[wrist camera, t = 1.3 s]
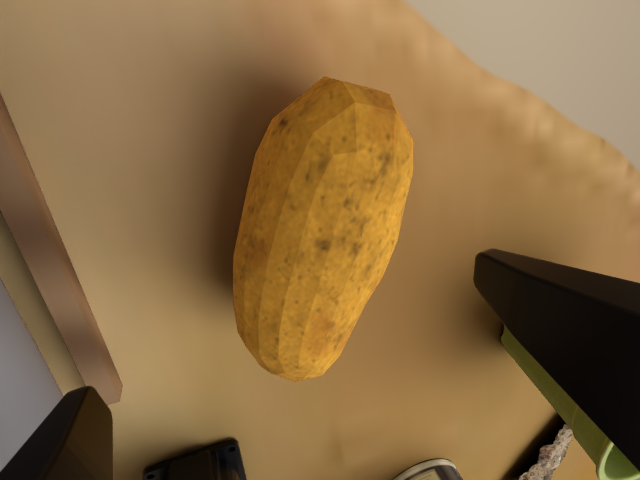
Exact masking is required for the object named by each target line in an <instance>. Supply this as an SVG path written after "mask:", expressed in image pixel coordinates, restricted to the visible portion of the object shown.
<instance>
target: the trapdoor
mask: <svg viewBox="0 0 640 480" xmlns="http://www.w3.org/2000/svg"><path fill="white" fill-rule="evenodd" d="M63 397H64V396H63V394H62V392H61V390H60V388H59V386H58V384H57V383H56V381H55V379H54V377H53V375H52V373H51V371H50V369H49V368H48V366H47V364H46V362H45V360H44V358H43V356H42V355H41V353H40V351H39V349H38V347H37V345H36V343H35V341H34V340H33V338H32V336H31V334H30V332H29V330H28V328H27V327H26V325H25V323H24V321H23V319H22V317H21V315H20V313H19V312H18V310H17V308H16V306H15V304H14V302H13V300H12V299H11V297H10V295H9V293H8V291H7V289H6V287H5V285H4V284H3V282H2V280H1V278H0V471H1V470H2V469H3V468H4V467H5V465H6V464H7V463H8V462H9V461H10V460H11V458H12V457H13V456H14V455H15V454H16V452H17V451H18V450H19V449H20V448H21V446H22V445H23V444H24V443H25V442H26V441H27V439H28V438H29V437H30V436H31V435H32V433H33V432H34V431H35V430H36V429H37V427H38V426H39V425H40V424H41V423H42V422H43V420H44V419H45V418H46V417H47V416H48V414H49V413H50V412H51V411H52V410H53V408H54V407H55V406H56V405H57V404H58V403H59V401H60V400H61V399H62V398H63Z"/></svg>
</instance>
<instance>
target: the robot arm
mask: <svg viewBox="0 0 640 480" xmlns="http://www.w3.org/2000/svg"><path fill="white" fill-rule="evenodd" d="M473 280H474V284H475V287H476V288H477V290H478V291H479V293H480V294H481V295H482V297H483V298H484V299H485V300H486V302H487V303H488V304H489V306H490V307H491V308H492V310H493V311H494V312H495V314H496V315H497V316H498V317H499V319H500V320H501V321H502V323H503V324H504V325H505V327H506V328H507V329H508V330H509V332H510V333H511V334H512V335H513V336H514V338H515V339H516V340H517V341H518V342H519V343H520V344H521V345H522V346H523V348H524V349H525V350H526V351H527V352H528V353H529V354H530V355H531V356H532V357H533V358H534V359H535V360H536V361H537V363H538V364H539V365H540V366H541V367H542V368H543V369H544V370H545V371H546V372H547V373H548V374H549V375H550V376H551V378H552V379H553V380H554V381H555V382H556V383H557V384H558V385H559V386H560V387H561V388H562V389H563V390H564V391H565V393H566V394H567V395H568V396H569V397H570V398H571V399H572V400H573V401H574V402H575V403H576V404H577V405H578V406H579V408H580V409H581V410H582V411H583V412H584V413H585V414H586V415H587V416H588V417H589V418H590V419H591V420H592V421H593V423H594V424H595V425H596V426H597V427H598V428H599V429H600V430H601V431H602V432H603V433H604V434H605V435H606V436H607V438H608V439H609V440H610V441H611V442H612V443H613V444H614V445H615V446H616V447H617V448H618V449H619V450H620V452H621V453H622V454H623V455H624V456H625V457H626V458H627V459H628V460H629V461H630V462H631V463H632V464H633V465H634V467H635V468H636V469H637V470H638V471H639V472H640V283H637V282H633V281H628V280H624V279H620V278H616V277H612V276H607V275H603V274H599V273H595V272H590V271H586V270H582V269H578V268H573V267H569V266H565V265H561V264H557V263H552V262H548V261H544V260H540V259H535V258H531V257H527V256H523V255H519V254H514V253H510V252H506V251H502V250H497V249H488V250H485V251H483V252H480V253H478V254H477V255H476V258H475V267H474V277H473ZM0 480H113V420H112V414H111V411H110V409H109V407H108V406H107V405H106V403H105V402H104V400H103V399H102V398H101V396H100V395H99V393H98V392H97V390H96V389H95V388H94V387H93V386H84V387H81V388H78V389H75V390H72V391H70V392H68V393H67V394H66V395H65V396H64V397H63V398H62V399H61V400H60V401H59V403H58V404H57V405H56V406H55V407H54V408H53V410H52V411H51V412H50V413H49V414H48V416H47V417H46V418H45V419H44V420H43V422H42V423H41V424H40V425H39V426H38V427H37V429H36V430H35V431H34V432H33V433H32V435H31V436H30V437H29V438H28V439H27V441H26V442H25V443H24V444H23V445H22V446H21V448H20V449H19V450H18V451H17V452H16V454H15V455H14V456H13V457H12V458H11V460H10V461H9V462H8V463H7V464H6V465H5V467H4V468H3V469H2V470H1V471H0ZM143 480H247V479H246V474H245V470H244V466H243V461H242V457H241V453H240V449H239V444H238V441H237V440H229V441H226V442H223V443H220V444H217V445H214V446H211V447H208V448H205V449H202V450H199V451H196V452H193V453H190V454H187V455H184V456H181V457H178V458H175V459H172V460H169V461H166V462H163V463H160V464H157V465H154V466H151V467H148V468H146V469H145V470H144V471H143Z"/></svg>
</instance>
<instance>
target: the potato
mask: <svg viewBox="0 0 640 480" xmlns="http://www.w3.org/2000/svg"><path fill="white" fill-rule="evenodd" d="M412 175H413V139H412V137H411V135H410V133H409V131H408V129H407V127H406V125H405V123H404V121H403V119H402V117H401V115H400V114H399V112H398V110H397V108H396V106H395V104H394V102H393V100H392V98H391V96H390V94H387V93H384V92H381V91H378V90H375V89H371V88H367V87H363V86H359V85H355V84H351V83H347V82H343V81H339V80H335V79H331V78H327V77H323V78H322V79H321V80H319V81H318V82H317V83H316V84H314V85H313V86H312V87H311V88H310V89H308V90H307V91H306V92H305V93H303V94H302V95H301V96H300V97H298V98H297V99H296V100H295V101H294V102H292V103H291V104H290V105H289V106H287V107H286V108H285V109H284V110H282V111H281V112H280V113H279V114H277V115H276V116H275V117H274V118H273V119H272V120H271V122H270V124H269V127H268V129H267V131H266V133H265V135H264V137H263V139H262V141H261V143H260V146H259V148H258V150H257V152H256V154H255V158H254V162H253V167H252V171H251V175H250V179H249V183H248V188H247V192H246V197H245V202H244V207H243V212H242V217H241V222H240V227H239V231H238V236H237V241H236V246H235V251H234V256H233V300H234V310H235V317H236V323H237V330H238V333H239V335H240V337H241V339H242V340H243V342H244V344H245V346H246V347H247V348H248V350H249V351H250V353H251V354H252V355H253V357H254V358H255V359H256V361H257V362H258V363H259V365H260V366H261V367H262V368H264V369H266V370H267V371H269V372H270V373H272V374H274V375H277V376H280V377H282V378H285V379H288V380H291V381H293V382H298V381H302V380H306V379H310V378H313V377H317V376H321V375H323V374H324V373H325V371H326V370H327V369H328V368H329V367H330V366H331V365H332V364H333V363H334V362H335V361H336V360H337V358H338V357H339V356H340V354H341V352H342V350H343V348H344V346H345V344H346V342H347V340H348V338H349V336H350V334H351V332H352V330H353V328H354V326H355V324H356V322H357V320H358V318H359V316H360V314H361V312H362V310H363V308H364V306H365V304H366V303H367V301H368V299H369V298H370V296H371V295H372V293H373V291H374V290H375V288H376V286H377V285H378V283H379V282H380V280H381V278H382V277H383V275H384V273H385V270H386V268H387V266H388V263H389V261H390V258H391V255H392V253H393V250H394V248H395V245H396V243H397V240H398V236H399V231H400V226H401V221H402V216H403V211H404V206H405V202H406V198H407V194H408V191H409V187H410V183H411V179H412Z"/></svg>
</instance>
